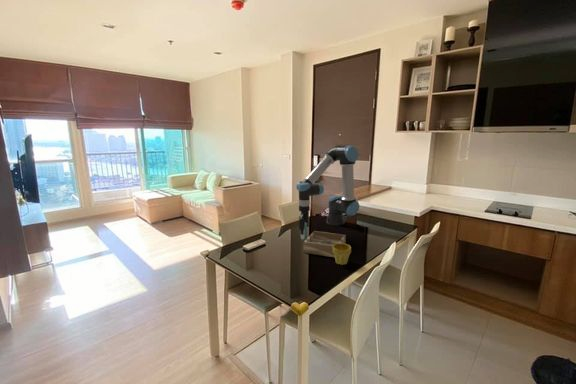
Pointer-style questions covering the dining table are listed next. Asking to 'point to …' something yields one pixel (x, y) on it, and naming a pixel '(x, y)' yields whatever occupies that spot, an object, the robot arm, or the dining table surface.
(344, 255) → the plant pot
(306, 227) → the peg
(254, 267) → the dining table surface
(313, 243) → the box
